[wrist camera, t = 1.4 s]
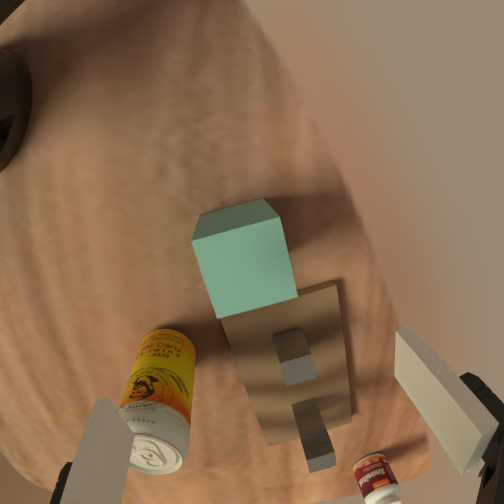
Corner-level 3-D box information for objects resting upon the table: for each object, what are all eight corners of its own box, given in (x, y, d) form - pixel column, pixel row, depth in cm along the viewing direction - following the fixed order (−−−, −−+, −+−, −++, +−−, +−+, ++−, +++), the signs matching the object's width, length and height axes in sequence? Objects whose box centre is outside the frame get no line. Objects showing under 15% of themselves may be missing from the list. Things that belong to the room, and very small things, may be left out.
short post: (271, 334, 32) (279, 363, 28) (299, 326, 32) (311, 354, 28) (277, 356, 33) (286, 386, 29) (304, 348, 33) (316, 377, 29)
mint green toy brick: (199, 215, 29) (191, 241, 21) (262, 198, 29) (279, 216, 21) (217, 274, 31) (217, 318, 23) (277, 257, 31) (297, 296, 23)
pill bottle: (375, 448, 43) (398, 496, 33) (389, 457, 45) (411, 501, 34) (345, 467, 44) (364, 515, 34) (361, 474, 46) (379, 519, 35)
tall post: (291, 404, 36) (306, 460, 27) (314, 397, 36) (334, 452, 27) (295, 419, 37) (310, 473, 28) (317, 412, 37) (336, 465, 28)
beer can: (183, 318, 32) (163, 426, 18) (204, 362, 34) (201, 472, 20) (132, 332, 32) (92, 435, 18) (156, 374, 34) (134, 479, 20)
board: (219, 311, 32) (219, 317, 31) (332, 280, 33) (336, 284, 31) (267, 439, 39) (268, 446, 38) (349, 416, 39) (352, 421, 38)
